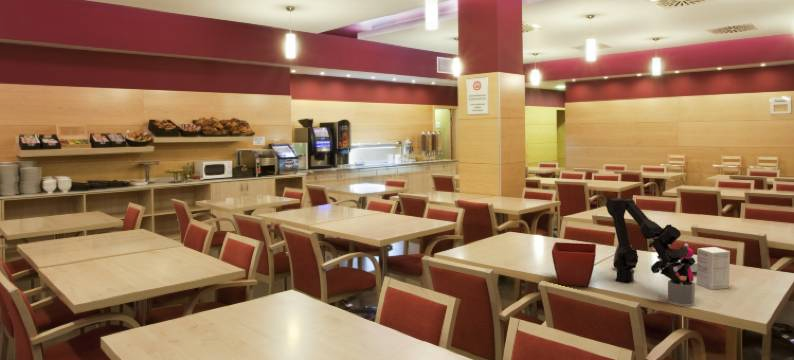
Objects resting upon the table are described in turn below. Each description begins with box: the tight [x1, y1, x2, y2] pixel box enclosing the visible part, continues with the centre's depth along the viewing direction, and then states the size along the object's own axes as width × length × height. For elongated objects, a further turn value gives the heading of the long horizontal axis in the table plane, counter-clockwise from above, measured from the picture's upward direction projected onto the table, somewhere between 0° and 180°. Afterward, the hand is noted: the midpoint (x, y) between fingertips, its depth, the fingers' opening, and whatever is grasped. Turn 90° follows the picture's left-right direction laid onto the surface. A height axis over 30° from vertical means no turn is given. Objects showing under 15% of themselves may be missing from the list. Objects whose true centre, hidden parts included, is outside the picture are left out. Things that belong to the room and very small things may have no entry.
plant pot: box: [551, 241, 597, 287], centre depth 249 cm, size 19×19×17 cm
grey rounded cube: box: [667, 279, 696, 307], centre depth 219 cm, size 10×10×8 cm
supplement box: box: [696, 246, 731, 290], centre depth 238 cm, size 10×9×17 cm
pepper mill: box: [675, 243, 695, 282], centre depth 237 cm, size 7×7×20 cm
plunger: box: [677, 275, 687, 285], centre depth 218 cm, size 7×7×8 cm
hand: (684, 282), depth 217 cm, fingers open, 5 cm apart
